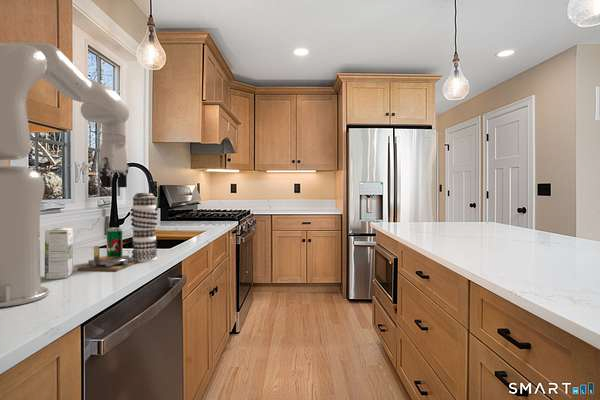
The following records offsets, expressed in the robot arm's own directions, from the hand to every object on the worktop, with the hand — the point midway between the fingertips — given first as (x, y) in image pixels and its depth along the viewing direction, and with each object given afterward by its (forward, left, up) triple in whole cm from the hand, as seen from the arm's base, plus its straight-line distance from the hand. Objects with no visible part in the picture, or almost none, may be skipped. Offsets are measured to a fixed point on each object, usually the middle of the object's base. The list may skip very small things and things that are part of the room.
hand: (114, 187), depth 122 cm
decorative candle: (+2, -10, -27) cm, 29 cm away
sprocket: (-9, -4, -26) cm, 28 cm away
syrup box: (-24, +2, -27) cm, 36 cm away
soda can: (0, 0, -27) cm, 27 cm away
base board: (-10, -4, -27) cm, 29 cm away
